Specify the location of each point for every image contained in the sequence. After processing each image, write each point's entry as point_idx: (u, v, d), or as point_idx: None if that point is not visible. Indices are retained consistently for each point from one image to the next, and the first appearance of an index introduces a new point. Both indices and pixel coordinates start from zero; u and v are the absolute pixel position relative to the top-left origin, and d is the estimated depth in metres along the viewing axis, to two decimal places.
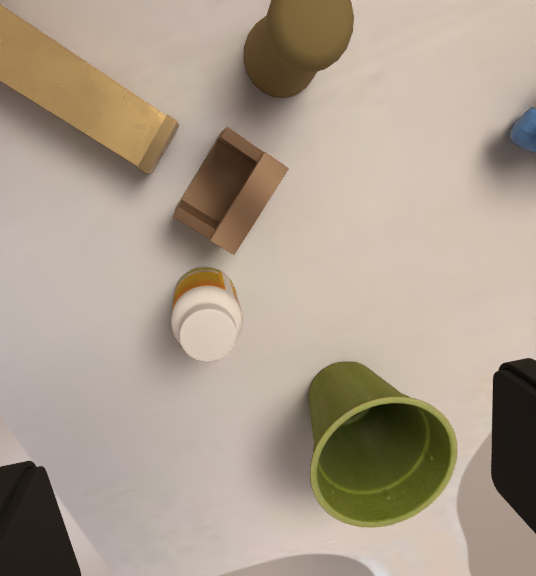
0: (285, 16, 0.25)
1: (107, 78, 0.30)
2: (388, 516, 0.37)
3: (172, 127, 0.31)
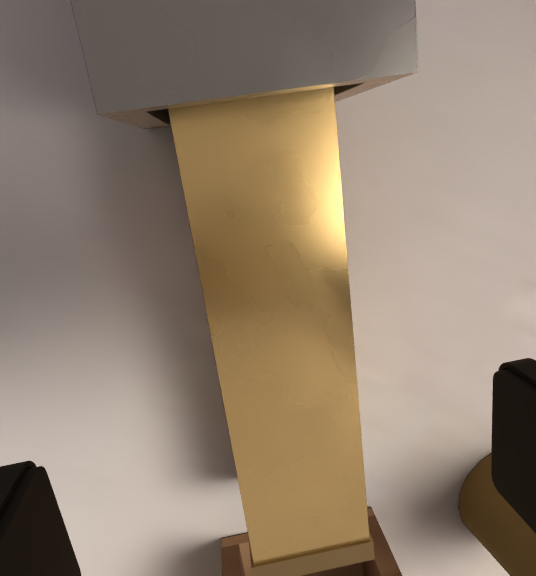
0: None
1: (357, 433, 0.14)
2: None
3: (359, 561, 0.15)
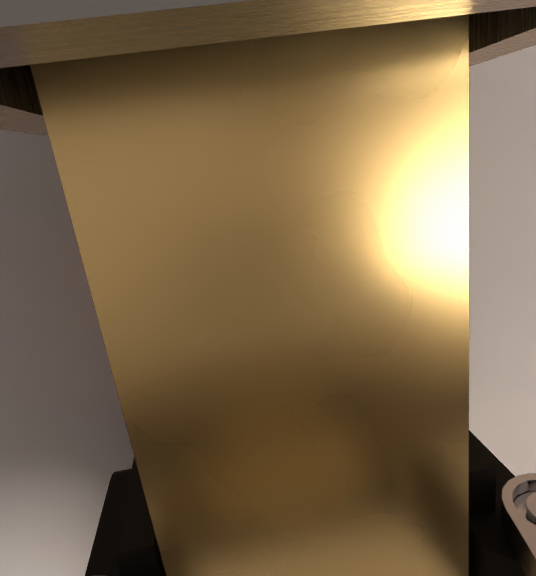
0: None
1: None
2: None
3: None
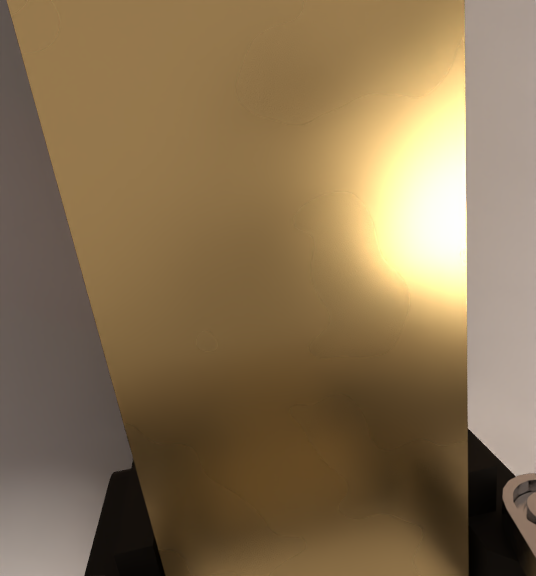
0: None
1: None
2: None
3: None
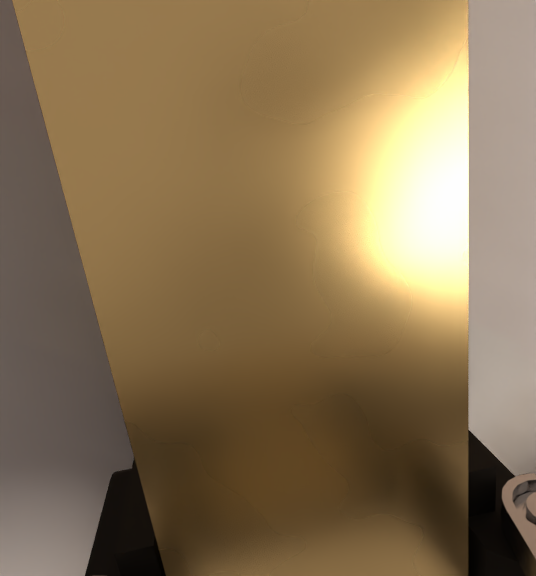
0: None
1: None
2: None
3: None
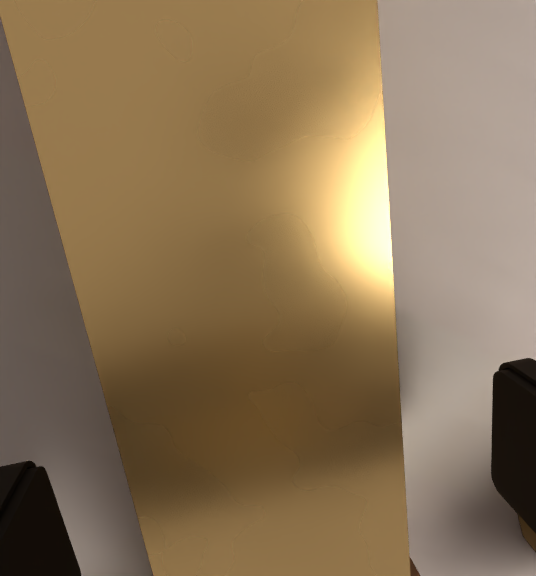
0: None
1: None
2: None
3: None
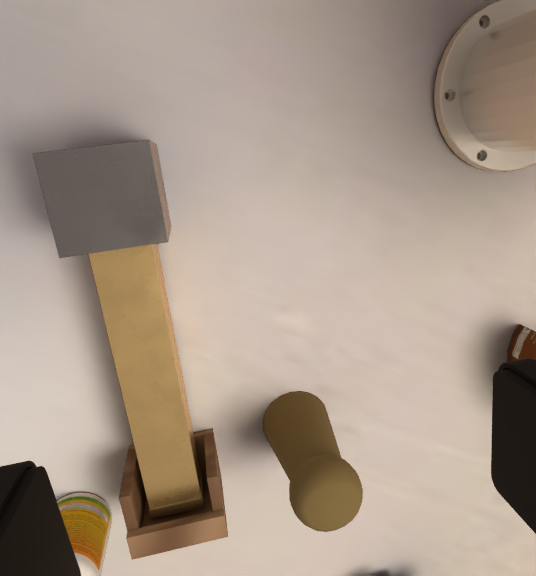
0: (316, 493, 0.30)
1: (190, 451, 0.34)
2: None
3: (197, 507, 0.35)
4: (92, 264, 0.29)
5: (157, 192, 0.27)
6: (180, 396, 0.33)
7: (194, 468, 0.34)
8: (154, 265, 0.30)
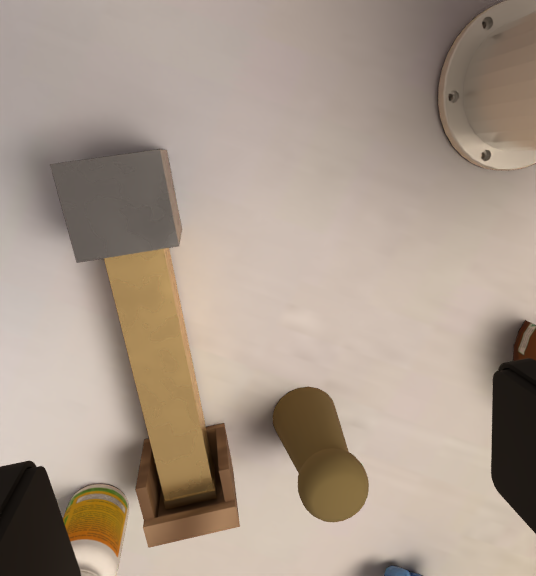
0: (323, 486, 0.31)
1: (203, 445, 0.35)
2: None
3: (210, 498, 0.37)
4: (107, 267, 0.30)
5: (168, 199, 0.28)
6: (192, 392, 0.34)
7: (206, 461, 0.36)
8: (166, 268, 0.31)
